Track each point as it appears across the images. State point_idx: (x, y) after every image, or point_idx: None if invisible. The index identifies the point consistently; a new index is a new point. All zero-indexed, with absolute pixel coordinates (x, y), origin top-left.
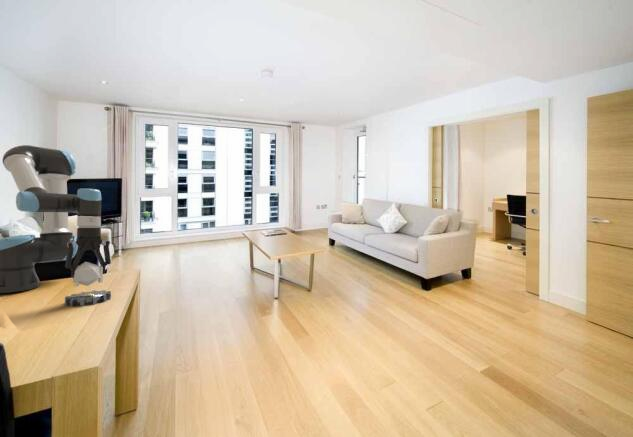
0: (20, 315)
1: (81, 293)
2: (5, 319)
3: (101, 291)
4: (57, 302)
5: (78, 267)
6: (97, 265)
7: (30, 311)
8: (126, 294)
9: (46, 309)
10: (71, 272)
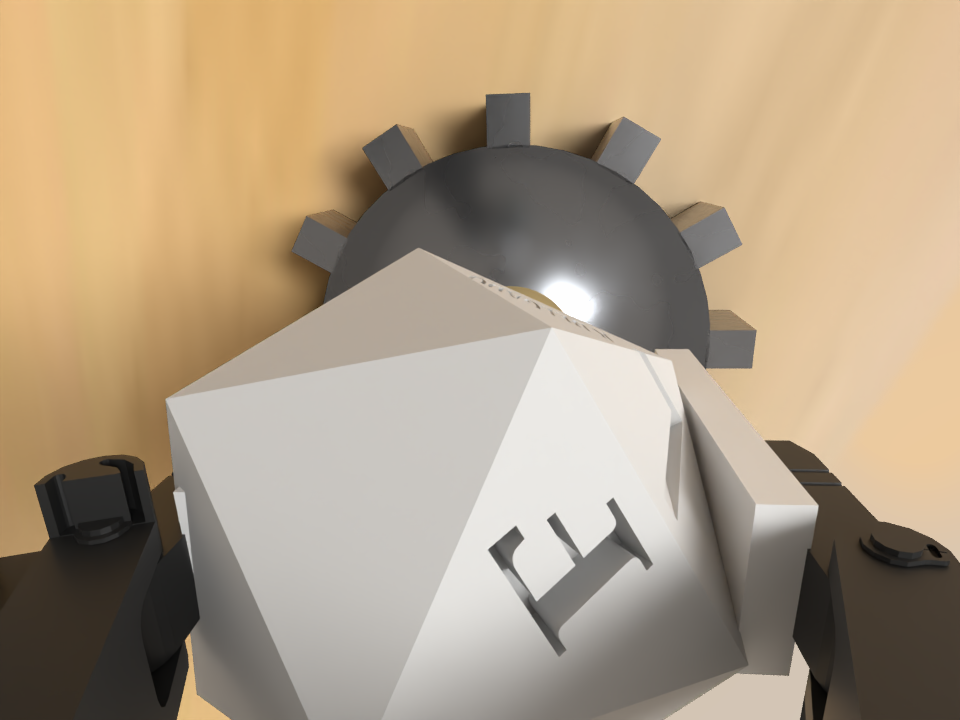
0: (15, 393)
1: (469, 187)
2: None
3: (678, 276)
4: (262, 105)
5: (224, 647)
6: (678, 697)
7: (64, 313)
8: (907, 346)
9: (173, 352)
10: (156, 504)
